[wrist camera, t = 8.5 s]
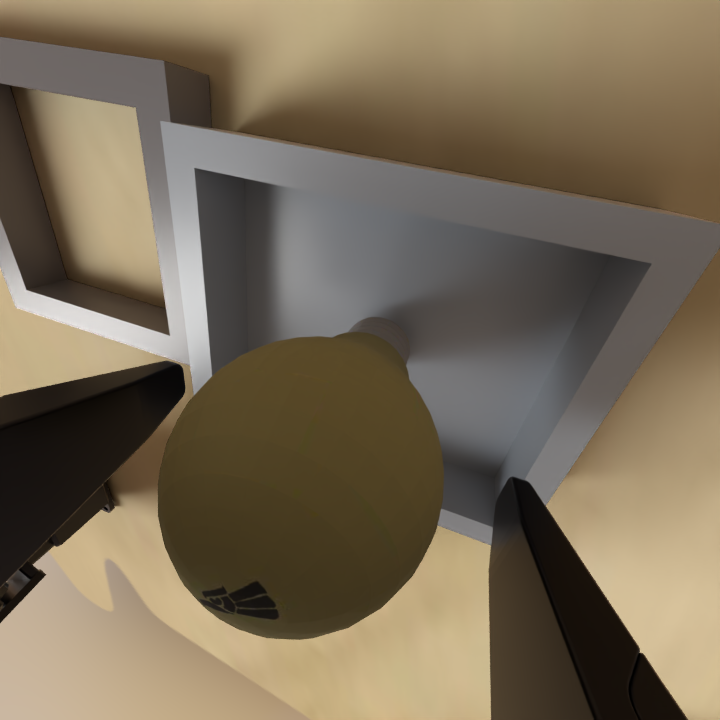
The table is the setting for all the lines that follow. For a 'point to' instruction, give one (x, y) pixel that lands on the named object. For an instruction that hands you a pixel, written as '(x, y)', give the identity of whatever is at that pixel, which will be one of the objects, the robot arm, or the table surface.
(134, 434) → the robot arm
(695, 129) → the table surface
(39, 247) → the socket collar
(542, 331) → the parts tray
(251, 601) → the light bulb
